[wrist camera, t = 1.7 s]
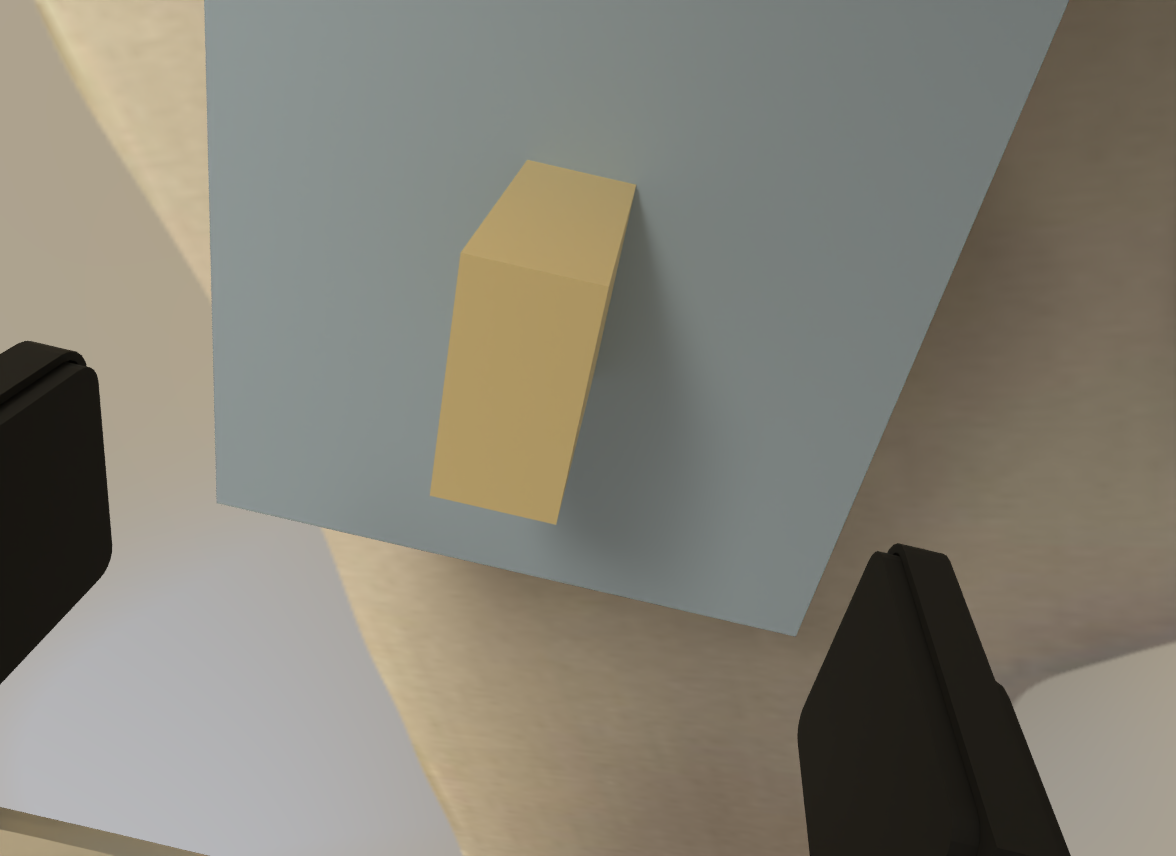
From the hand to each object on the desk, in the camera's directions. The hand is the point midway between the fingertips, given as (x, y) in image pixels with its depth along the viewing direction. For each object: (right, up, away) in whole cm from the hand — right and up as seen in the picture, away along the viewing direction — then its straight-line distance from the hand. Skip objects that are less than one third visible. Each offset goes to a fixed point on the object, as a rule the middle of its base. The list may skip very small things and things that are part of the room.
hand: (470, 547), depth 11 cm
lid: (+1, +5, +7) cm, 9 cm away
